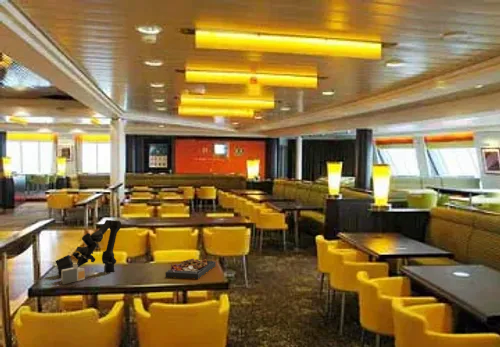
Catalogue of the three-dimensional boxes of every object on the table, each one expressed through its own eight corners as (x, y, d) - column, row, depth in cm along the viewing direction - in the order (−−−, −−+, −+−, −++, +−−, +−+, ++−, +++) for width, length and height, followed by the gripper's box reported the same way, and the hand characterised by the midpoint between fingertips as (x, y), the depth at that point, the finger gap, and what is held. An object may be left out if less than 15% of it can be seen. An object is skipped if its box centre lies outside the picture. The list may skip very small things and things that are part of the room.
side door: (75, 280, 347) (75, 264, 347) (77, 281, 345) (77, 264, 345) (61, 283, 338) (61, 266, 337) (64, 284, 336) (64, 267, 336)
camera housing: (76, 277, 359) (76, 266, 358) (85, 279, 353) (85, 268, 353) (60, 280, 348) (59, 270, 347) (69, 282, 342) (69, 272, 342)
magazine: (75, 274, 361) (67, 255, 361) (60, 281, 363) (52, 262, 364) (78, 273, 364) (70, 254, 365) (63, 280, 367) (55, 261, 368)
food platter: (198, 280, 354) (198, 265, 354) (165, 278, 359) (165, 264, 359) (215, 267, 398) (215, 254, 398) (186, 265, 403) (186, 252, 403)
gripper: (74, 240, 355) (61, 258, 346) (91, 243, 345) (78, 261, 336) (84, 250, 362) (71, 268, 353) (101, 252, 351) (88, 271, 343)
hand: (76, 267), depth 346 cm, fingers closed, pressing on side door
